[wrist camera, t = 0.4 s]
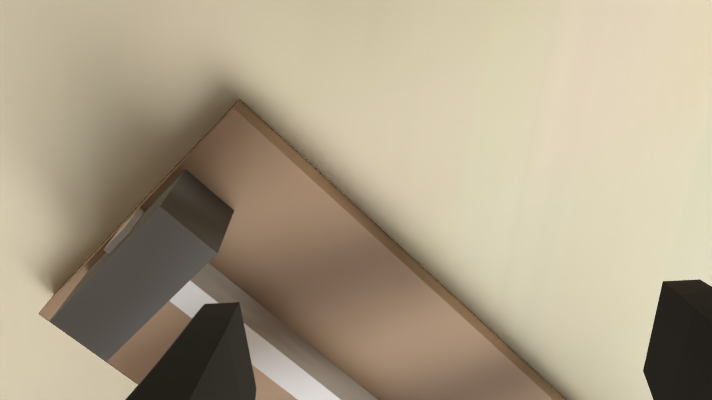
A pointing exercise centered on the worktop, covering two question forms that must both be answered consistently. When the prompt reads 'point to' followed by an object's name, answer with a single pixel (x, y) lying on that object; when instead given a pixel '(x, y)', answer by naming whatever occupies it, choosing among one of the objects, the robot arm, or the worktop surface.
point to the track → (282, 285)
